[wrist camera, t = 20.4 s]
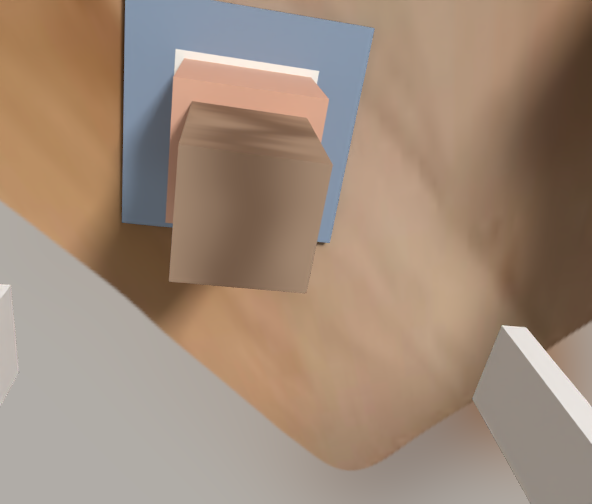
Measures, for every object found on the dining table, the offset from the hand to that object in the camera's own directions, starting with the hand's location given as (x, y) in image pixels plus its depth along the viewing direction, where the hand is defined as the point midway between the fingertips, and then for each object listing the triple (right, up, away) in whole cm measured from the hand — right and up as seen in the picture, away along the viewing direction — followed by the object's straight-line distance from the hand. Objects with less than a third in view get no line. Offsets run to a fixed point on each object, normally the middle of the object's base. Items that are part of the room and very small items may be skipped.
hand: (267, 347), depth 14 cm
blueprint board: (-3, +11, +21) cm, 24 cm away
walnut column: (-2, +7, +14) cm, 16 cm away
